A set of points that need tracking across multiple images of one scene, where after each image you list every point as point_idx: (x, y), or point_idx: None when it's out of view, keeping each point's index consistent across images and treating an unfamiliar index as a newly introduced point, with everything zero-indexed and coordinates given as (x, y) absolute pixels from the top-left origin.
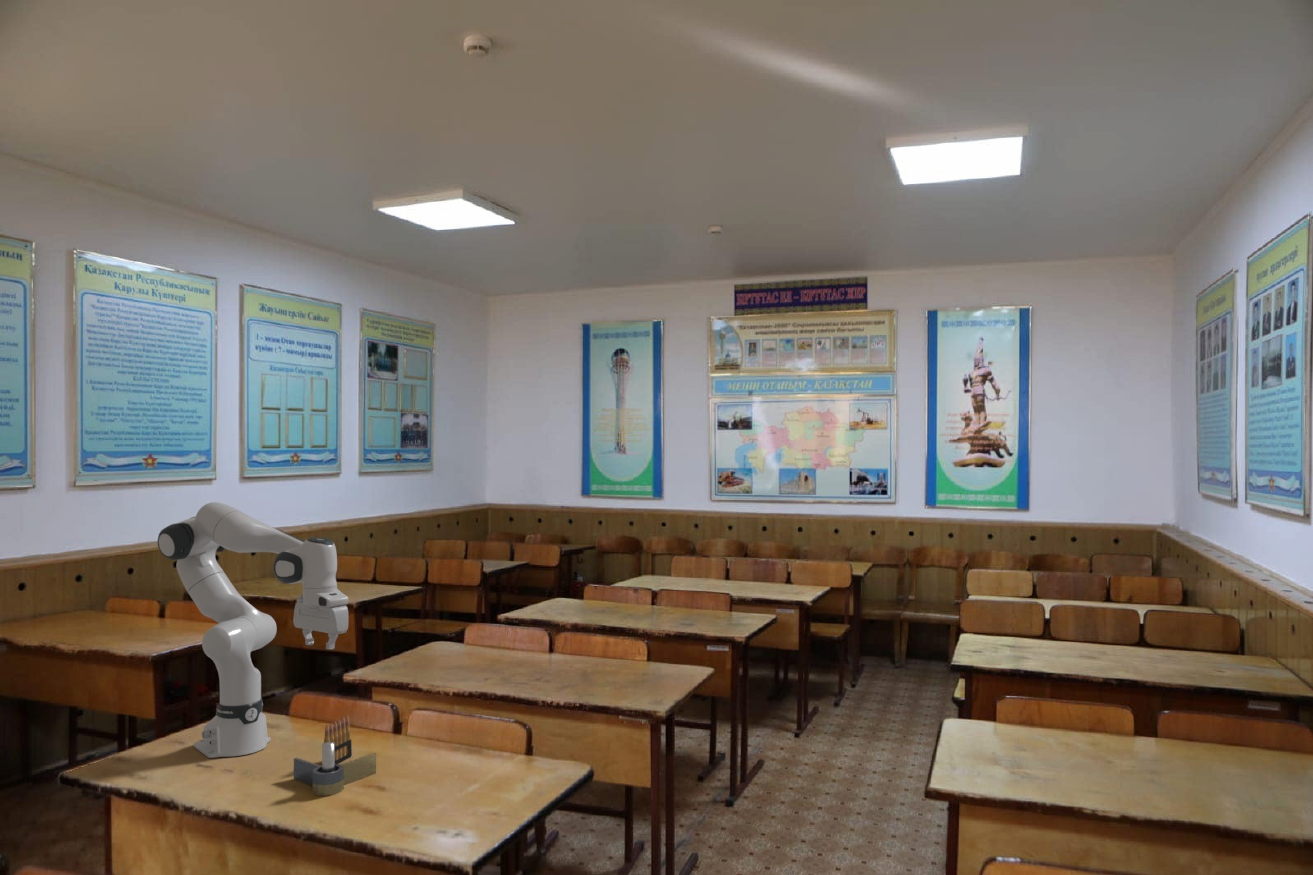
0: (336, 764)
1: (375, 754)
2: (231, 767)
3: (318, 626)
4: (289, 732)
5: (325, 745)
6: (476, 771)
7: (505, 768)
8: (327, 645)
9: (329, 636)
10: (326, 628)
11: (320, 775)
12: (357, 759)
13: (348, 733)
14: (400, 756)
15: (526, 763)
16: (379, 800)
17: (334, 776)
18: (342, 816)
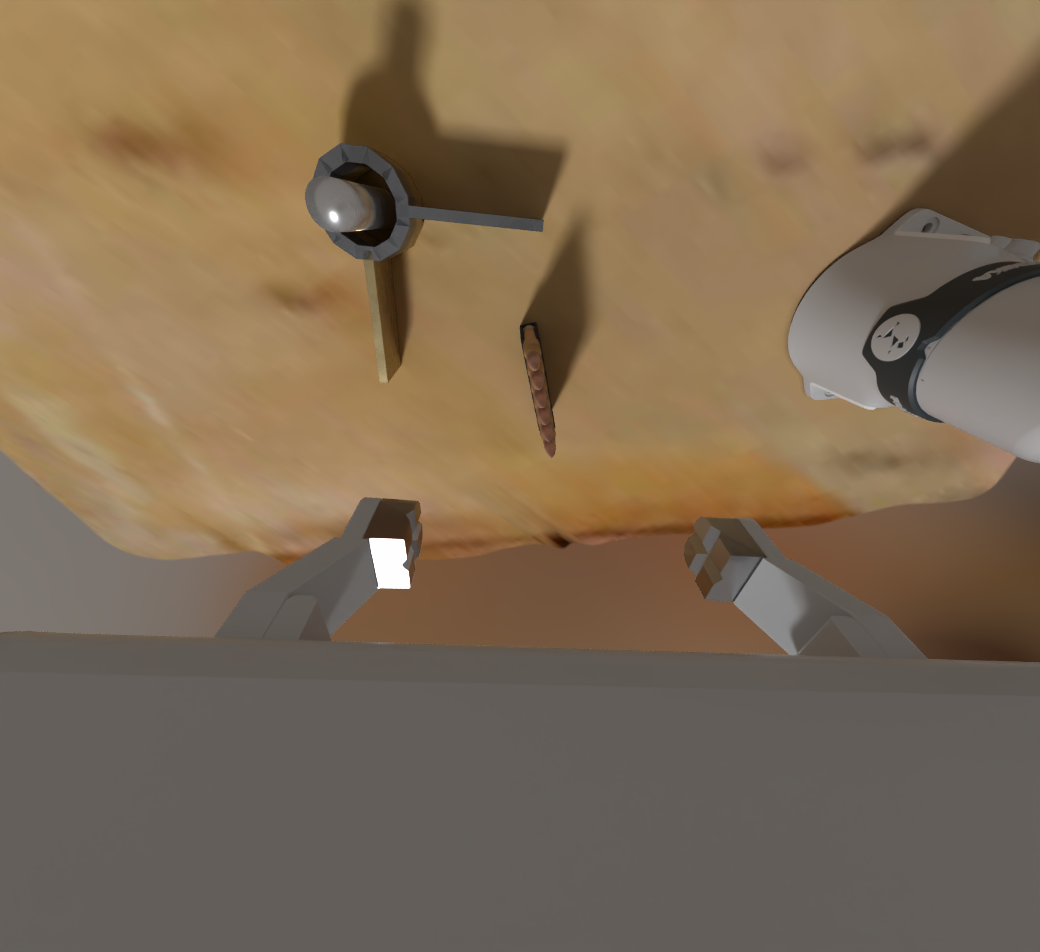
0: (380, 254)
1: (381, 379)
2: (792, 187)
3: (476, 738)
4: (792, 451)
5: (315, 178)
6: (241, 468)
7: (218, 501)
8: (384, 518)
9: (283, 601)
10: (189, 718)
11: (334, 149)
12: (372, 320)
13: (540, 430)
14: (442, 459)
15: (218, 531)
16: (204, 229)
17: None
18: (139, 53)
